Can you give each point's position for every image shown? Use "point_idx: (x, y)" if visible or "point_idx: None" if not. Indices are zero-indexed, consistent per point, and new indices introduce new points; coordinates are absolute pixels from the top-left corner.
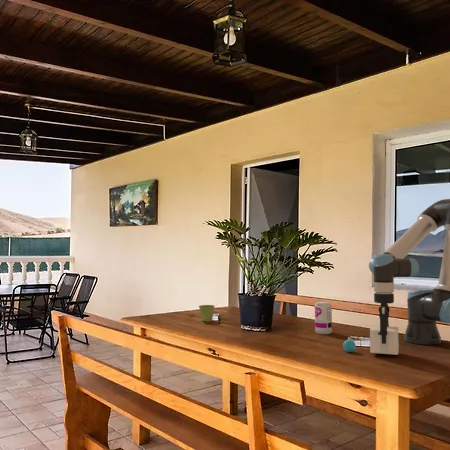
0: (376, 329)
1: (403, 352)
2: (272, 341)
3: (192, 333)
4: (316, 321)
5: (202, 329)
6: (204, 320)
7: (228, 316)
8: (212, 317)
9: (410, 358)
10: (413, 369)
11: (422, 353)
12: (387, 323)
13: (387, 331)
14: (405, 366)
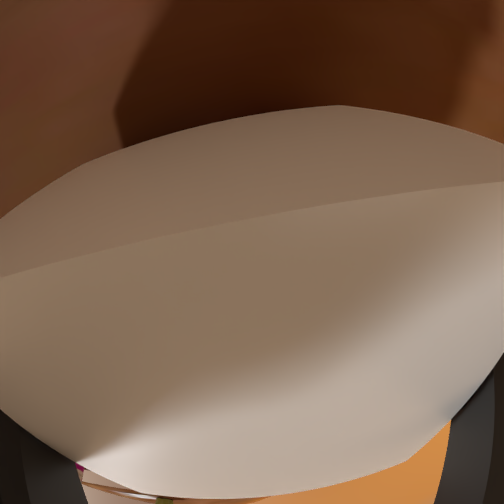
0: (365, 466)
1: (66, 130)
2: None
3: (255, 498)
4: (82, 474)
5: (221, 499)
6: (172, 501)
7: (115, 489)
8: (159, 502)
9: (255, 15)
10: (501, 40)
11: (37, 18)
12: (32, 480)
13: (487, 363)
14: (480, 67)
